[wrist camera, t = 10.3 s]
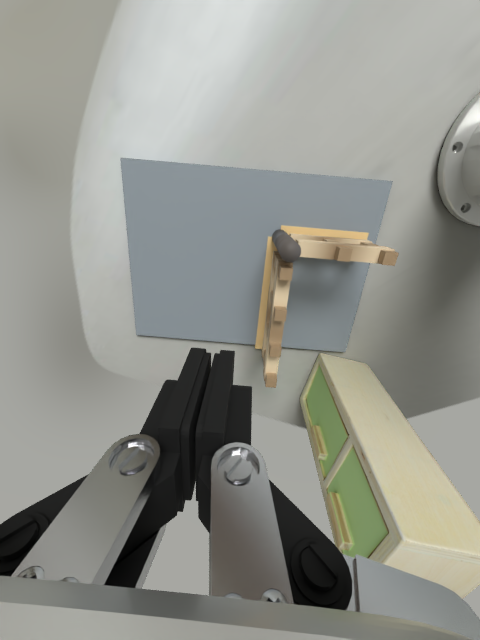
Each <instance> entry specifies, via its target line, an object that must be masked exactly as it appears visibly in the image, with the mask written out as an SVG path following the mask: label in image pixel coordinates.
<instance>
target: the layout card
mask: <svg viewBox="0 0 480 640" xmlns="http://www.w3.org/2000/svg"><path fill="white" fill-rule="evenodd" d="M121 169H122V181H123V192H124V203H125V214H126V225H127V236H128V247H129V258H130V269H131V281H132V292H133V303H134V314H135V325H136V335H144V336H156V337H168V338H180V339H192V340H204V341H216V342H228V343H240V344H252V345H255V349H262V346H263V337H264V328H265V320H266V311H267V302H268V293H269V284H270V276H271V267H272V258H273V251H278V250H277V248H276V247H275V245H274V243H273V241H272V235H273V233H274V232H275V231H276V230H278V229H281V230H284V231H285V232H286V233H287V234H288V235H289V233H292V234H303V235H315V236H327V237H338V238H350V239H362V240H369V241H372V243H373V244H375V243H376V240H377V236H378V233H379V229H380V225H381V222H382V218H383V214H384V211H385V207H386V204H387V200H388V196H389V193H390V189H391V186H392V182H393V181H384V180H372V179H361V178H349V177H338V176H326V175H315V174H303V173H291V172H280V171H268V170H257V169H245V168H234V167H222V166H210V165H199V164H187V163H176V162H164V161H153V160H141V159H129V158H121ZM292 263H293V274H292V281H290V288H289V295H288V302H287V315H286V321H285V322H284V329H283V336H282V343H281V347H287V348H299V349H311V350H323V351H335V352H345V351H346V348H347V344H348V341H349V337H350V333H351V330H352V326H353V323H354V319H355V315H356V312H357V308H358V305H359V301H360V297H361V294H362V290H363V287H364V283H365V279H366V276H367V272H368V269H369V265H370V263H367V262H355V261H350V262H345V261H337V260H331V259H320V258H308V257H299V258H298V259H297V260H296V261H294V262H292Z"/></svg>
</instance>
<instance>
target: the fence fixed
mask: <svg viewBox="0 0 480 640" xmlns="http://www.w3.org/2000/svg"><path fill="white" fill-rule="evenodd" d="M272 241H273V243H274V245H275V247H276V248H277V250H278V252H279V254H280V256H281V258H282V259H283V260H284V261H286V262H294V261H296V260H297V259H298V258H299V257H308V258H320V259H331V260H337V261H345V262H350V261H355V262H367V263H378V264H382V265H392V266H395V263H396V260H397V257H398V254H399V253H397V252H395V250H394V249H391V248H388V247H385V246H378V245H376V244H373V243H372V241H369V240H362V239H350V238H338V237H327V236H315V235H303V234H292V233H289V235H288V234H287V233H286V232H285V231H284V230H281V229H278V230H276V231H275V232H274V233H273V235H272Z"/></svg>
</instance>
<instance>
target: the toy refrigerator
mask: <svg viewBox="0 0 480 640" xmlns="http://www.w3.org/2000/svg"><path fill="white" fill-rule="evenodd" d="M300 403H301V407H302V411H303V415H304V419H305V423H306V427H307V431H308V435H309V439H310V443H311V447H312V451H313V455H314V460H315V463H316V468H317V472H318V476H319V481H320V484H321V489H322V493H323V497H324V501H325V505H326V509H327V514H328V517H329V521H330V526H331V530H332V534H333V538H334V542H335V546H336V547H337V548H338V550H339V551H340V552H341V553H342V554H344V555H347V556H350V557H353V558H354V557H355V555H356V554H357V555H360V556H362V557H365V558H368V559H371V560H373V561H376V562H379V563H382V564H385V565H387V566H390V567H393V568H396V569H398V570H401V571H404V572H407V573H410V574H412V575H415V576H418V577H421V578H423V579H426V580H429V581H432V582H435V583H437V584H440V585H442V586H444V587H446V588H448V589H450V590H452V591H453V592H455V593H456V594H457V595H458V596H460V597H461V598H462V599H463V598H464V597H466V596H467V595H468V594H469V593H470V592H471V591H473V590H474V589H475V588H476V587H477V586H479V585H480V521H479V520H478V519H477V517H476V516H475V514H474V513H473V512H472V511H471V509H470V507H469V506H468V504H467V503H466V502H465V500H464V499H463V498H462V496H461V495H460V493H459V492H458V491H457V490H456V488H455V487H454V485H453V484H452V482H451V481H450V479H449V478H448V477H447V475H446V474H445V472H444V471H443V470H442V468H441V467H440V466H439V464H438V463H437V461H436V460H435V459H434V457H433V456H432V454H431V453H430V452H429V450H428V449H427V448H426V446H425V445H424V443H423V442H422V441H421V439H420V438H419V436H418V435H417V434H416V432H415V431H414V429H413V428H412V427H411V425H410V424H409V422H408V421H407V419H406V418H405V417H404V415H403V414H402V412H401V411H400V410H399V408H398V407H397V405H396V404H395V403H394V401H393V400H392V398H391V397H390V396H389V394H388V393H387V391H386V390H385V389H384V387H383V386H382V384H381V383H380V382H379V380H378V379H377V377H376V376H375V375H374V373H373V372H372V370H371V369H370V368H369V366H368V365H367V364H365V363H361V362H357V361H353V360H348V359H345V358H340V357H336V356H332V355H328V354H324V353H320V354H319V355H318V357H317V360H316V362H315V364H314V367H313V369H312V371H311V374H310V376H309V378H308V381H307V383H306V385H305V388H304V390H303V392H302V394H301V397H300Z"/></svg>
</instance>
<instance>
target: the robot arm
mask: <svg viewBox="0 0 480 640" xmlns="http://www.w3.org/2000/svg"><path fill="white" fill-rule="evenodd" d="M452 148H453V150H452ZM437 181H438V187H439V193H440V196H441V198H442V201H443V203H444V205H445V206H446V208H447V209H448V210H449V212H450V213H451V214H452V215H454V216H455V217H456V218H457V219H459V220H461V221H463V222H465V223H467V224H470V225H476V226H480V92H479V93H478V94H477V95H476V96H475V97H474V98H473V100H472V101H471V102H470V103H469V104H468V105H467V106H466V107H465V108H464V110H463V111H462V112H461V114H460V115H459V116H458V118H457V119H456V120H455V122H454V124H453V126H452V128H451V129H450V131H449V133H448V135H447V137H446V140H445V142H444V145H443V148H442V150H441V154H440V159H439V164H438V178H437ZM234 355H235V351H226V350H221V351H220V354H217V353H215V355H214V359H213V363H212V367H211V353H206V349H201V348H191V350H190V352H189V354H188V357H187V359H186V362H185V364H184V366H183V369H182V371H181V374H180V376H179V378H178V381H177V380H166V381H165V383H164V384H163V386H162V389H161V391H160V393H159V395H158V397H157V399H156V401H155V403H154V405H153V407H152V409H151V411H150V413H149V416H148V418H147V420H146V422H145V424H144V426H143V428H142V430H141V432H140V434H135V435H129V436H127V437H124V438H121V439H120V440H118V441H117V442H115V443H114V444H113V445H112V446H111V447H110V448H109V449H108V450H107V451H106V452H105V454H104V455H103V456H102V458H101V459H100V460H99V462H98V463H97V464H96V466H95V467H94V468H93V469H92V471H91V472H90V473H89V474H88V475H87V476H85V477H83V478H81V479H79V480H77V481H76V482H74V483H72V484H70V485H68V486H66V487H65V488H63V489H61V490H59V491H57V492H56V493H54V494H52V495H50V496H48V497H46V498H45V499H43V500H41V501H39V502H37V503H35V504H34V505H32V506H30V507H28V508H26V509H25V510H23V511H21V512H19V513H17V514H15V515H14V516H12V517H11V518H9V519H8V520H6V521H5V522H3V523H2V524H0V640H480V619H479V618H478V617H477V615H476V614H475V613H474V611H473V610H472V609H471V607H470V606H469V605H468V604H467V603H466V602H465V601H464V600H463V599H462V598H461V597H460V596H458V595H457V594H456V593H455V592H453V591H452V590H450V589H448V588H446V587H444V586H442V585H440V584H437V583H435V582H432V581H429V580H426V579H423V578H421V577H418V576H415V575H412V574H410V573H407V572H404V571H401V570H398V569H396V568H393V567H390V566H387V565H385V564H382V563H379V562H376V561H373V560H371V559H368V558H365V557H362V556H360V555H357V554H356V555H355V557H354V558H353V557H350V556H347V555H344V554H342V553H341V552H340V551H339V550H338V548H337V547H336V546H335V545H334V544H333V543H332V542H331V541H330V540H329V539H328V538H327V537H326V536H325V535H324V534H323V533H322V532H321V531H320V530H319V529H318V528H317V527H316V526H315V525H314V524H313V523H312V522H311V521H310V520H309V519H308V518H307V517H306V516H305V515H304V514H303V513H302V512H301V511H300V510H299V509H298V508H297V507H296V506H295V505H294V504H293V503H292V502H291V501H290V500H289V499H288V498H287V497H286V496H285V495H284V494H283V493H282V492H281V491H280V490H279V489H278V488H277V487H276V486H275V485H274V484H273V483H272V482H271V481H270V480H269V479H268V474H267V469H266V464H265V461H264V459H263V456H262V455H261V454H260V452H259V451H258V450H257V449H255V448H254V447H252V446H251V408H252V387H251V386H238V385H233V372H234ZM195 481H196V501H198V506H199V507H198V510H199V512H198V513H199V519H200V520H201V522H202V523H203V525H204V526H205V527H206V529H207V530H208V532H209V596H207V595H198V594H188V593H177V592H167V591H157V590H146V589H142V586H143V584H144V582H145V579H146V577H147V574H148V572H149V569H150V567H151V564H152V562H153V559H154V557H155V554H156V552H157V549H158V547H159V545H160V542H161V540H162V537H163V535H164V532H165V528H166V523H168V522H169V521H170V520H171V519H172V518H174V517H175V516H177V512H178V511H180V512H183V508H184V503H185V500H191V499H192V495H193V491H194V485H195Z"/></svg>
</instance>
